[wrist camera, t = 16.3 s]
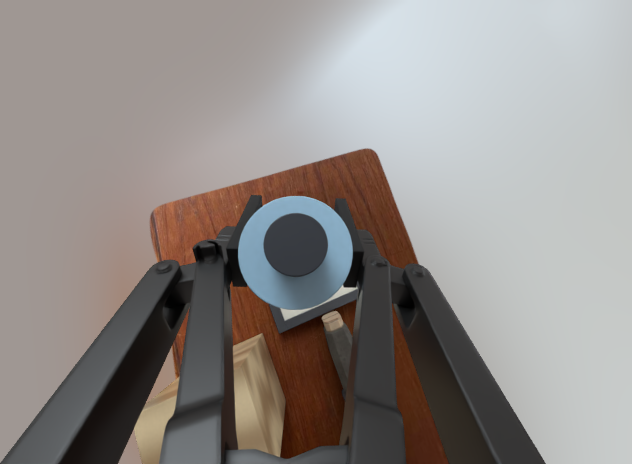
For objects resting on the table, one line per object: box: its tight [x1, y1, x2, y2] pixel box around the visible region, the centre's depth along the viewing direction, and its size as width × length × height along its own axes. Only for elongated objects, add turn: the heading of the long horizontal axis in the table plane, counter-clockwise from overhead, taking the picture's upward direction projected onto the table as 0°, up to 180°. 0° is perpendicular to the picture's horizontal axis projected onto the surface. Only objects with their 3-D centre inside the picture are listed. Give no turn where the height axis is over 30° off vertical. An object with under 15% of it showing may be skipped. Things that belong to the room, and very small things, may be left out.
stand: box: [134, 333, 286, 464], centre depth 32 cm, size 12×12×16 cm
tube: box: [322, 311, 353, 400], centre depth 37 cm, size 11×7×30 cm
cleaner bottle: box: [238, 196, 353, 310], centre depth 14 cm, size 6×6×11 cm
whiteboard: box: [269, 208, 359, 334], centre depth 43 cm, size 18×18×2 cm
